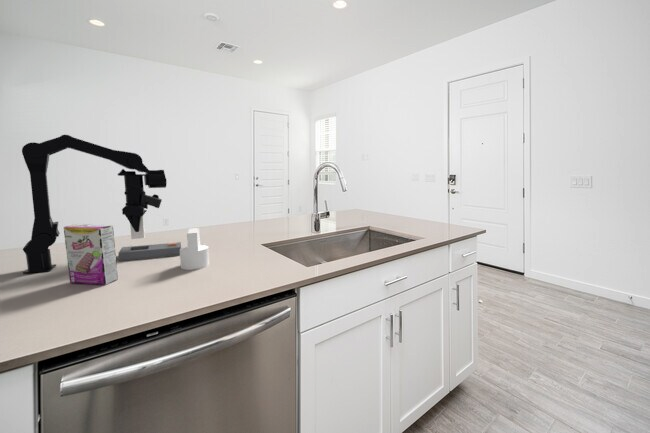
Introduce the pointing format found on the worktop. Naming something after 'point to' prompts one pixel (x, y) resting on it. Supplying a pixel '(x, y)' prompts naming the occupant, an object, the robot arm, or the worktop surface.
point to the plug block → (141, 230)
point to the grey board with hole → (149, 251)
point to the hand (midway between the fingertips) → (137, 230)
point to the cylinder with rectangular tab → (194, 252)
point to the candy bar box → (91, 254)
